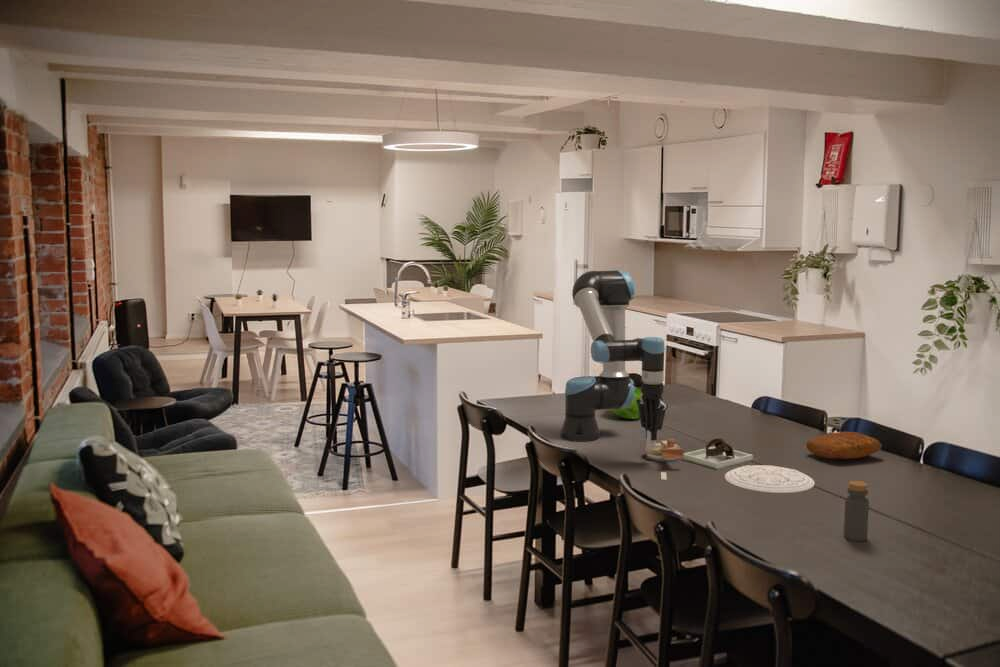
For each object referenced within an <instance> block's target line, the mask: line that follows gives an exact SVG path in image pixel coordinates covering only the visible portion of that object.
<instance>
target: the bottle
mask: <svg viewBox="0 0 1000 667" xmlns="http://www.w3.org/2000/svg"><path fill="white" fill-rule="evenodd" d="M868 485H869V484H868V483H866V482H865V481H861V480H860V481H859V480H851V481H848V488H847V491H846V493H847V494H848V496H846V497H845V501H844V503H845V504H844V523H843V537H844V538H845V539H846V540H849V541H853V542H865V541H866V540H868V531H869V530H868V529H869V508H870V501H869V499H868V498H867V497H866V496H868V495H869V490H868V489H867V488H868Z"/></svg>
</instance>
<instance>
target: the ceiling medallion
mask: <svg viewBox="0 0 1000 667" xmlns="http://www.w3.org/2000/svg"><path fill="white" fill-rule="evenodd" d="M724 479H725V480H726V481H727V482H728V483H729V484H732V485H733V486H736V487H739V488H742V489H745V490H748V491H754V492H760V493H761V492H762V493H769V494H770V493H772V494H792V493H794V494H795V493H801V492H805V491H809V490H810V489H813V488H814V486H815V480H814V479H813V478H812V477H811V476H809V475H807V474H806V473H803V472H801V471H799V470H797V469H795V468H787V467H784V466H783V467H782V466H775V465H771V464H768V465H764V464H763V465H757V464H754V465H748V464H747V465H742V466H740V467H736V468H733V469H731V470H728V472H726V473H725V474H724Z"/></svg>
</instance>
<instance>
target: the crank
mask: <svg viewBox="0 0 1000 667" xmlns="http://www.w3.org/2000/svg"><path fill="white" fill-rule="evenodd" d="M684 450H685V449H684V448H682V447H681V446H680V445H678V444H675V439H673V438H668V439H664V440H663V439H661V440H660V441H658V442H657V441H655V449H651V450H649V449H647V443H646V444H645V452H646V453H647V452H649V453H652V454H658V455H662V458H678V459H682V458H683V453H684V452H685V451H684Z"/></svg>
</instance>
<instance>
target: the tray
mask: <svg viewBox="0 0 1000 667" xmlns="http://www.w3.org/2000/svg"><path fill="white" fill-rule="evenodd" d="M715 448H716V447H715V445H714V446H710V447H709V448H708V449H715ZM733 452H734V457H735V458H734V459H733V457H732V456H726V453H725V451H724V452H723V455H717V456H713V457H712V456H708V458H707V457H706V447H705V448H701V449H697V450H693V451H687V452H685V453H684V452H683V458H681V460H682V461H686V462H690V463H693V464H697V465H700V466H703V467H707V468H710V469H714V470H720V469H724V468H725V469H726V468H729V467H733V466H736V465H740V464H745V463H748V462H753V461H754V454H751V453H747V452H742V451H739V450H735V449H733ZM752 460H753V461H752Z"/></svg>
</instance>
